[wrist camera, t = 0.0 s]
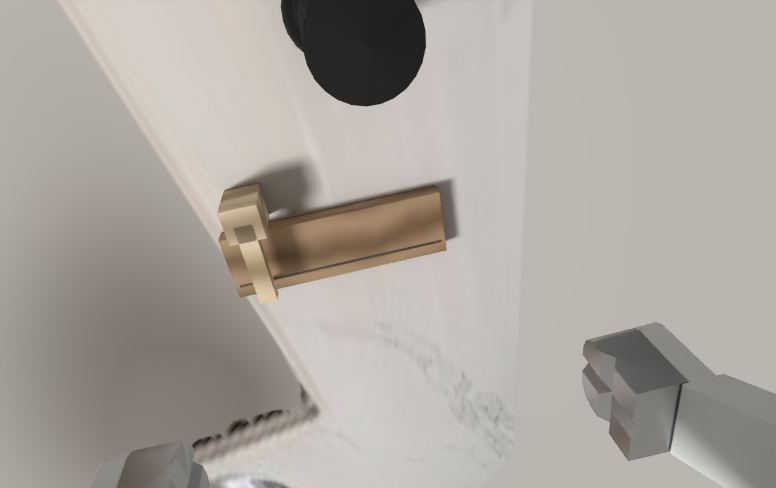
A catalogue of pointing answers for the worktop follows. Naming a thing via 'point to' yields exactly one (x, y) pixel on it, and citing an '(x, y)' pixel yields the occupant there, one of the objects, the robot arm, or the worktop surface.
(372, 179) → the worktop surface
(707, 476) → the robot arm
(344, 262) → the board
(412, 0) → the handle grip
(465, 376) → the worktop surface
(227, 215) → the beige mallet
